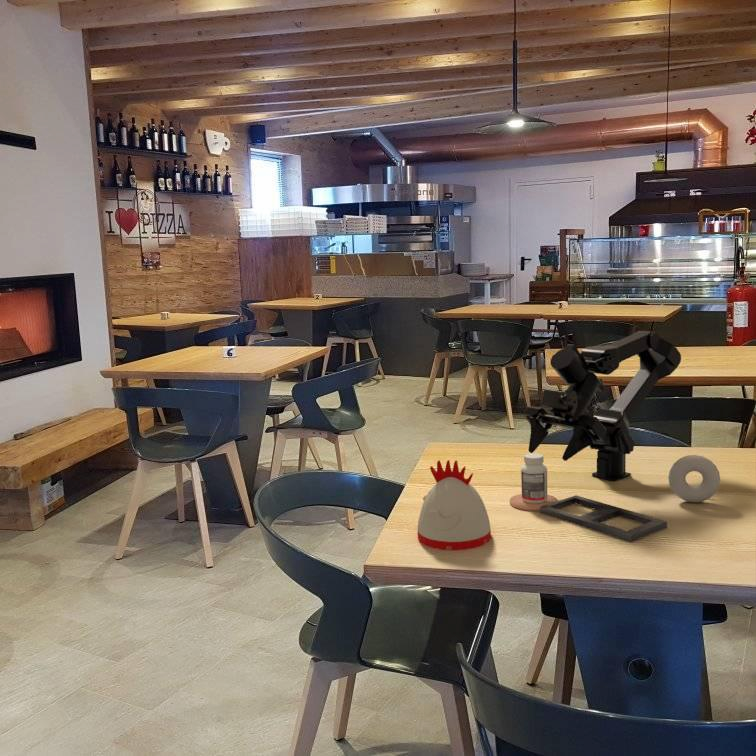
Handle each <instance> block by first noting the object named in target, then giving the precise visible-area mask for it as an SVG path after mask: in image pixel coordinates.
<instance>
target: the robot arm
mask: <svg viewBox="0 0 756 756" xmlns="http://www.w3.org/2000/svg"><path fill="white" fill-rule="evenodd" d="M636 355H637V357H638V358H639V367H640V368H639V369H638V371H637V372H636V374H635V375H634V376H633V377H632V379H631V380H630V381H629V383H628V385H627V386H626V387H625V389H624V390H623V391H622V392H621V394H620V395H619V396H618V398H617V399H616V400H615V402H614V404H613V405H612V406H611V407H610V408H609V409H608V408H603V407H601V408H600V407H599V409H597V410H596V412H595V414H594V415H593V416H592V415H587V414H585V413H591V410H592V407H591V406H590V404H591V402H592V399H593V398H594V396H595V395H596V393H597V392H605V386H604V383H603V379H602V378H598V376H597V375H606V376H608V375H611V374H612V373H613V372H615V371H617V370H618V369H619V367H620V363H621V362H623V361H626V360H628V359H630V358H632V357H635V356H636ZM681 360H682V354H681V352H680V351H679V349H678V348H677V347H676V346H675V345H674V344H672V343H671V342H669V341H668V340H665V339H663V338H662V337H661V336H660V335H659V334H658V333H657V332H654V331H647V330H638V331H635V332H634V333H633V334H631V335H629V336H625V337H623V338H622V339H619V340H617V341H615V342H612V343H610V344H607V345H594V346H593V345H592V346H586V347H584V348H583V349H582V350H581V352H580V351H579V349H578V347H577V346H576V344H569V343H568V344H566V346H565V347H564V348H562V349H559V350H558V351H556V352H555V354H552V356H551V358H550V361H549V362H550V366H551V367H552V369H553V370H554V371H555V372H556V374H557V375H558V376H559V377H560V379H561V380H562V381H563V382H564V383H566V384H568V386H567V389H565V390H564V391H562V390H561V391H559V390H558V391H557V390H551V389H545V388H544V389H543V391H542V394H541V399H540V405H545V406H548V407H549V408H548V410H549V411H550V412H551V413H553V415H552V414H551V415H550V414H549V413H548V412H547V411H546V410H545V409H544V407H540V406H539V407H538V406H535V405H534V406H533V405H529V406H527V408H526V409H525V410H524V412H523V416H524V418H526V422H528V423H529V425H530V436H529V443H528V453H535V451H536V450H537V448H538V447H539V446H540V445H541V444H542V442H543V441H544V440H545V438H546V437H547V436H548V435H549V433H550V432H549V431H548V430H550V429H551V428H552V426H557V427H563V428H568V429H573V430H572V436H571V438H570V440H569V442H568V444H567V446H566V448H565V450H564V452H563V454H562V459H561V460H563V461H565V462H566V461H568V460H569V459H571V458H572V457H574V456H575V455H577V454H578V453H579V452H582V450H584V449H586V448H587V447H589V448H590V449H591V450H597V452H596V453H597V454H596V455H597V456H596V471H595V472H592V473H591V476H593V477H595V478H600V479H604V480H608V481H613V482H615V481H619V480H622V479H624V478H625V479H626V478H627V477H631V476H632V473H631V472H627V471H626V468H627V466H626V455H630V454H631V452H633V451H634V447H635V441H634V439H633V438H632V436H630V420H631V419H632V417H633V416H634V414H635V413H637V410H639V408H640V406H641V405H642V404H643V402H644V401H645V400H646V398H647V397H648V395H649V394H650V392H651V391H652V390H653V388H654V387H655V386H656V385H657V382H659V380H662V379H664V378H666V377H669V376H671V375H672V374H673V372H675V371H676V370H677V368H678V367H679V365H680V364H681V362H682V361H681ZM596 374H597V375H596Z"/></svg>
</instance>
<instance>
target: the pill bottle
mask: <svg viewBox="0 0 756 756" xmlns="http://www.w3.org/2000/svg"><path fill="white" fill-rule="evenodd" d="M523 461H524V464H523V465H522V466H521V467H520V468H521V470H520V473H521V475H520V476H521V482H520V483H521V494H522V500H523V501H524V502H526V503H532V504H538V503H544V502H546V501H547V495H548V468H547V466H546V465H545V464H544V462H545V461H544V455H543V454H542V453H535V452H533V453H530V452H528V453H526V454H524V455H523Z"/></svg>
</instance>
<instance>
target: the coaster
mask: <svg viewBox="0 0 756 756" xmlns="http://www.w3.org/2000/svg"><path fill="white" fill-rule="evenodd" d="M557 501H559V500H558V498H557V497H555V496H553V495H550V494H547V501H546V502H544V503H538V504H532V503H526V502H524V501H523V500H522V493H518V494H515V495H513V496H511V497H510V498H509V505H510V506H511V507H513V508H515V509H517V510H522V511H528V512H529V511H530V512H540V507H541V506H545V505H548V504H551V503H554V502H557Z"/></svg>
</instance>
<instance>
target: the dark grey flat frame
mask: <svg viewBox="0 0 756 756" xmlns="http://www.w3.org/2000/svg"><path fill="white" fill-rule="evenodd" d="M574 504H576V505H579V506H583V507H586V508H589V509H593V511H590V512H588V513H585V514H582V515H577V514H574V513H571V512H567V511H564V510H561V509H563V508H565V507H568V506H572V505H574ZM539 513H540V514H543V515H546V516H549V517H552V518H556V519H558V520H562V521H565V522H568V523H570V524H574V525H576V526H577V525H578V526H580V527H584V528H587V529H589V530H593V531H595V532H599V533H602V534H605V535H608V536H611V537H613V538H617V539H620V540H624V541H627V542H630V543H632V542H634V541H637V540H639V539H642V538H644V537H647V536H649V535H651V534H654V533H656V532H660V531H662V530H664V529H667V528H668V521H667V520H663V519H660V518H657V517H653V516H650V515H646V514H643V513H640V512H636V511H632V510H629V509H625V508H621V507H618V506H615V505H611V504H608V503H604V502H601V501H598V500H594V499H591V498H587V497H583V496H579V495H576V494H575V495H571V496H569V497H567V498H564V499H559V500H558V501H557V502H554V503H551V504H548V505H545V506H541V507H540V511H539ZM619 517H620V518H622V519H627V520H629V521H633V522H637V523H639V524H641V525H638V526H636V527H633V528H631V529H628V530H625V529H622V528H619V527H615V526H612V525H609V524H605V523H604V522H607V521H609V520H612V519H615V518H619Z"/></svg>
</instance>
